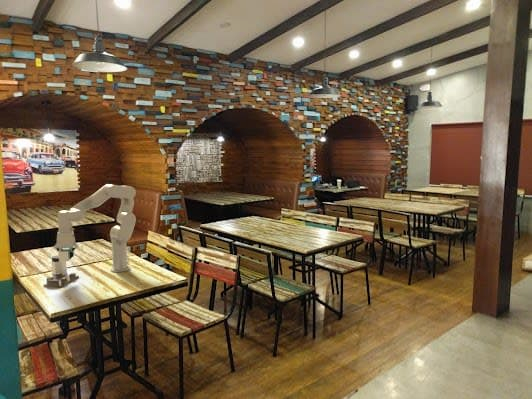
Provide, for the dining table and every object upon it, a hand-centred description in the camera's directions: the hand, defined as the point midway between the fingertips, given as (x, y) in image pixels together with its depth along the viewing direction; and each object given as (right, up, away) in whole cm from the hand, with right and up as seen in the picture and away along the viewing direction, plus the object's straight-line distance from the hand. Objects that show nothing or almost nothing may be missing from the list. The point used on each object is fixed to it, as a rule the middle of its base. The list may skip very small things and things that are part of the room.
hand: (66, 257), depth 255 cm
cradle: (-4, -16, +2) cm, 17 cm away
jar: (-14, -14, +19) cm, 27 cm away
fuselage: (0, -1, 0) cm, 1 cm away
